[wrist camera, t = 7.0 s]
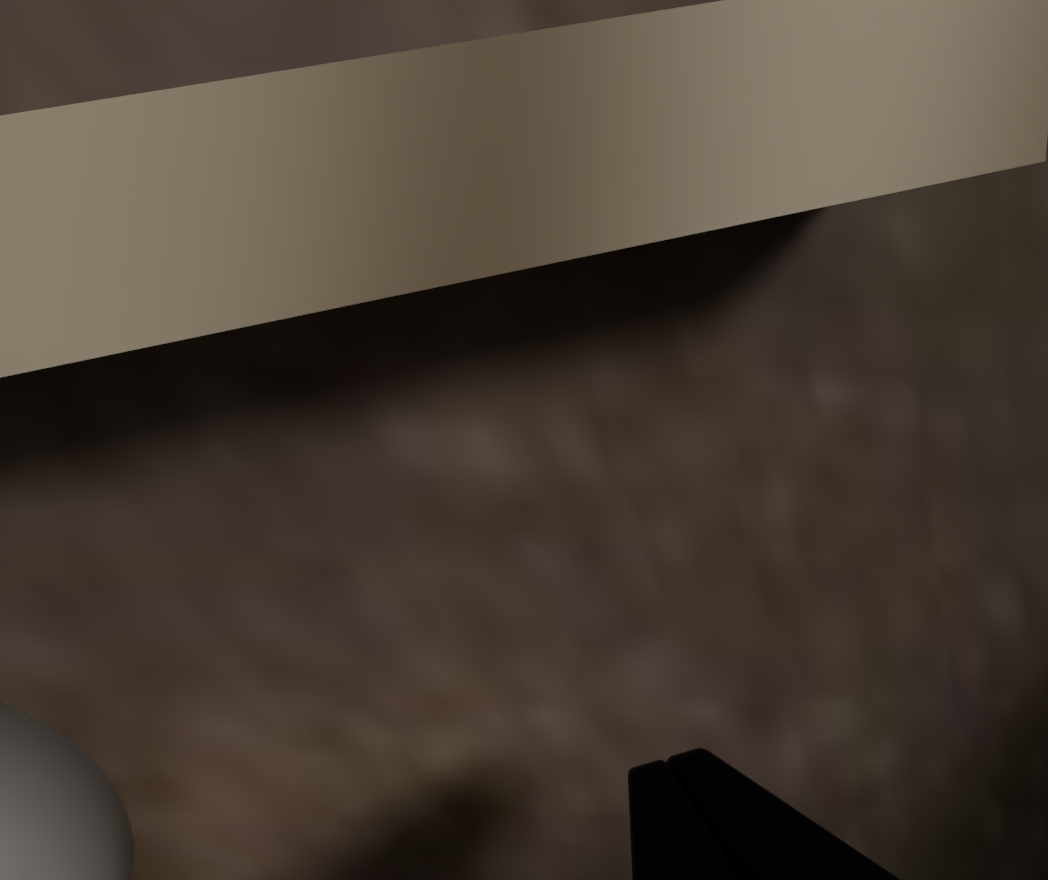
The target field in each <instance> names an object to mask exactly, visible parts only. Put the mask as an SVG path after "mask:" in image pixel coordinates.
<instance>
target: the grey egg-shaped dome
mask: <svg viewBox="0 0 1048 880" xmlns="http://www.w3.org/2000/svg"><path fill="white" fill-rule="evenodd" d="M133 867H134V842H133V836H132V830H131V824H130V821H129V818H128V815H127V813H126V810H125V807H124V804H123V802H122V800H121V798H120V797H119V795H118V793H117V791H116V789H115V788H114V786H113V784H112V782H111V781H110V780H109V779H108V777H107V776H106V775H105V774H104V772H103V771H102V770H101V768H100V767H99V766H98V765H97V763H96V762H94V761H93V760H92V759H91V758H90V757H89V756H88V755H87V754H86V753H85V752H84V751H83V750H82V749H81V748H80V747H79V746H78V745H76V744H75V743H74V742H72V741H71V740H69V739H68V738H67V737H65V736H64V735H62V734H61V733H60V732H58V731H57V730H56V729H54V728H52V727H50V726H49V725H47V724H45V723H43V722H41V721H40V720H38V719H36V718H34V717H32V716H30V715H29V714H26V713H24V712H22V711H19V710H17V709H14V708H12V707H10V706H7V705H5V704H2V703H0V880H131V877H132V872H133Z"/></svg>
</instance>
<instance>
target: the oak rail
mask: <svg viewBox="0 0 1048 880" xmlns="http://www.w3.org/2000/svg"><path fill="white" fill-rule="evenodd" d="M1047 134H1048V0H723V1H717V2H711V3H704V4H698V5H692V6H686V7H679V8H673V9H667V10H660V11H654V12H648V13H642V14H635V15H629V16H623V17H617V18H610V19H604V20H598V21H592V22H585V23H579V24H573V25H566V26H560V27H554V28H548V29H541V30H535V31H529V32H523V33H516V34H510V35H504V36H497V37H491V38H485V39H479V40H472V41H466V42H460V43H454V44H447V45H441V46H435V47H428V48H422V49H416V50H410V51H403V52H397V53H391V54H385V55H378V56H372V57H366V58H360V59H353V60H347V61H341V62H334V63H328V64H322V65H316V66H309V67H303V68H297V69H291V70H284V71H278V72H272V73H265V74H259V75H253V76H247V77H240V78H234V79H228V80H222V81H215V82H209V83H203V84H196V85H190V86H184V87H178V88H171V89H165V90H159V91H153V92H146V93H140V94H134V95H128V96H121V97H115V98H109V99H102V100H96V101H90V102H84V103H77V104H71V105H65V106H59V107H52V108H46V109H40V110H33V111H27V112H21V113H15V114H8V115H2V116H0V378H1V377H6V376H11V375H15V374H20V373H25V372H30V371H35V370H40V369H44V368H49V367H54V366H59V365H64V364H69V363H73V362H78V361H83V360H88V359H93V358H98V357H102V356H107V355H112V354H117V353H122V352H126V351H131V350H136V349H141V348H146V347H151V346H155V345H160V344H165V343H170V342H175V341H180V340H184V339H189V338H194V337H199V336H204V335H209V334H213V333H218V332H223V331H228V330H233V329H238V328H242V327H247V326H252V325H257V324H262V323H267V322H271V321H276V320H281V319H286V318H291V317H295V316H300V315H305V314H310V313H315V312H320V311H324V310H329V309H334V308H339V307H344V306H349V305H353V304H358V303H363V302H368V301H373V300H378V299H382V298H387V297H392V296H397V295H402V294H407V293H411V292H416V291H421V290H426V289H431V288H436V287H440V286H445V285H450V284H455V283H460V282H465V281H469V280H474V279H479V278H484V277H489V276H493V275H498V274H503V273H508V272H513V271H518V270H522V269H527V268H532V267H537V266H542V265H547V264H551V263H556V262H561V261H566V260H571V259H576V258H580V257H585V256H590V255H595V254H600V253H605V252H609V251H614V250H619V249H624V248H629V247H634V246H638V245H643V244H648V243H653V242H658V241H662V240H667V239H672V238H677V237H682V236H687V235H691V234H696V233H701V232H706V231H711V230H716V229H720V228H725V227H730V226H735V225H740V224H745V223H749V222H754V221H759V220H764V219H769V218H774V217H778V216H783V215H788V214H793V213H798V212H803V211H807V210H812V209H817V208H822V207H827V206H831V205H836V204H841V203H846V202H851V201H856V200H860V199H865V198H870V197H875V196H880V195H885V194H889V193H894V192H899V191H904V190H909V189H914V188H918V187H923V186H928V185H933V184H938V183H943V182H947V181H952V180H957V179H962V178H967V177H972V176H976V175H981V174H986V173H991V172H996V171H1001V170H1005V169H1010V168H1015V167H1020V166H1025V165H1029V164H1034V163H1039V162H1044V161H1046V148H1047Z"/></svg>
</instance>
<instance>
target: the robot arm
mask: <svg viewBox="0 0 1048 880" xmlns="http://www.w3.org/2000/svg"><path fill="white" fill-rule="evenodd" d="M628 789H629V811H630V833H631V856H632V878H633V880H900V879H899V878H897V877H896V876H894V875H893V874H891V873H890V872H888V871H887V870H885V869H884V868H882V867H881V866H879V865H878V864H876V863H875V862H873V861H872V860H870V859H869V858H867V857H866V856H864V855H863V854H861V853H860V852H858V851H857V850H855V849H854V848H852V847H851V846H849V845H848V844H846V843H845V842H843V841H842V840H840V839H839V838H837V837H836V836H834V835H833V834H831V833H830V832H828V831H827V830H825V829H824V828H823V827H821V826H820V825H818V824H817V823H815V822H814V821H812V820H811V819H809V818H808V817H806V816H805V815H803V814H802V813H800V812H799V811H797V810H796V809H794V808H793V807H791V806H790V805H788V804H787V803H785V802H784V801H782V800H781V799H779V798H778V797H776V796H775V795H773V794H772V793H770V792H769V791H767V790H766V789H764V788H763V787H761V786H760V785H758V784H757V783H755V782H754V781H752V780H751V779H749V778H748V777H746V776H745V775H743V774H742V773H740V772H739V771H738V770H736V769H735V768H733V767H732V766H730V765H729V764H727V763H726V762H724V761H723V760H721V759H720V758H718V757H717V756H715V755H714V754H712V753H711V752H709V751H707V750H705V749H702V748H697V749H693V750H690V751H687V752H683V753H680V754H676V755H673V756H671V757H669V758H668V760H667V762H665V761H663V760H656V761H653V762H650V763H646V764H643V765H640V766H636V767H633V768H631V769H630V770H629V772H628Z"/></svg>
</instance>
